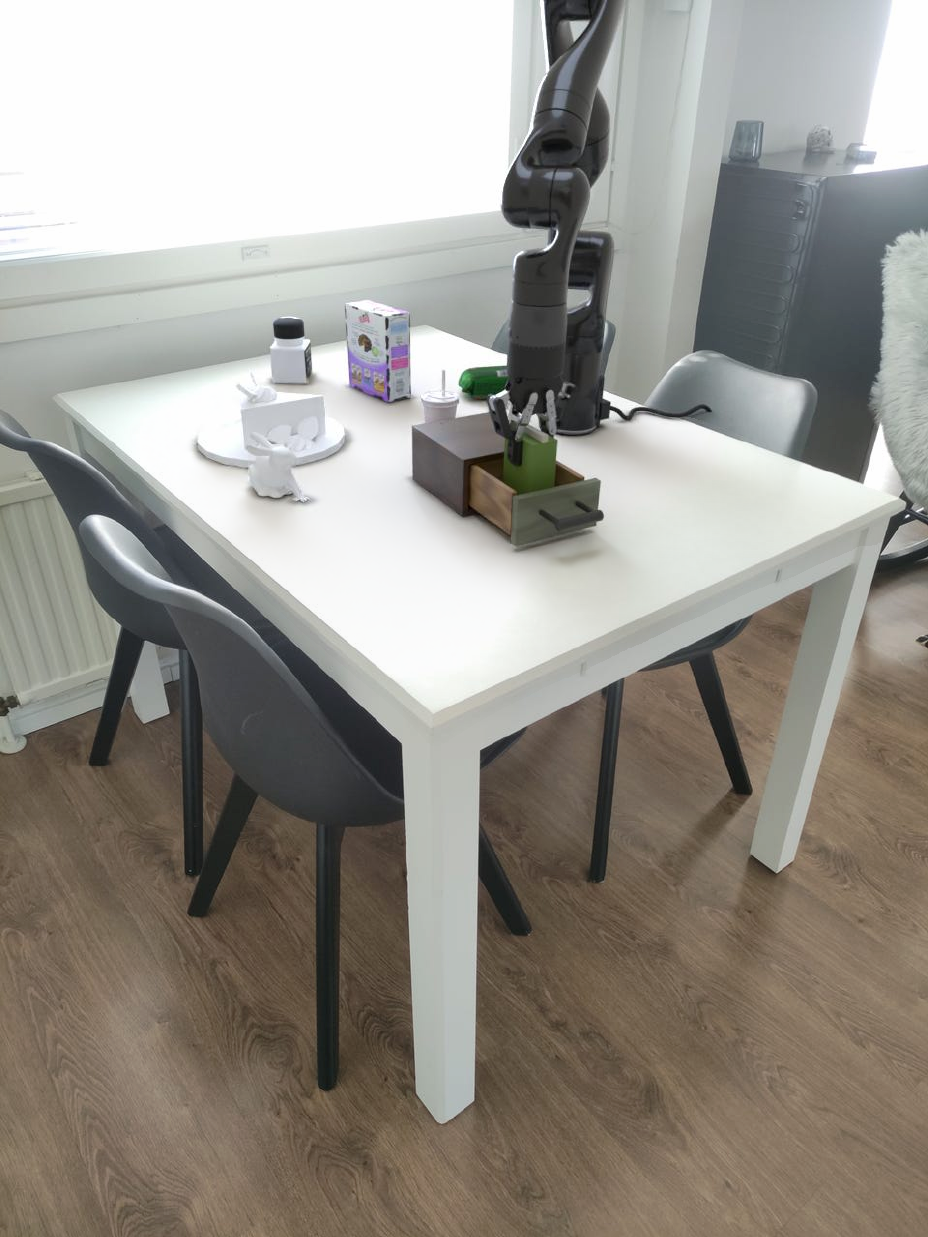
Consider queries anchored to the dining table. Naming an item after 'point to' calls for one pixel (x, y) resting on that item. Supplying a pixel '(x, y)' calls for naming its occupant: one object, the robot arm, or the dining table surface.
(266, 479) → the rabbit figurine
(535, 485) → the green rectangular block
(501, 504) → the drawer
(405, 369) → the candy box
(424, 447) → the cabinet
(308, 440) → the dish
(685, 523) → the dining table surface
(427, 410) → the smoothie
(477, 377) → the snack package
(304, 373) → the medicine bottle
